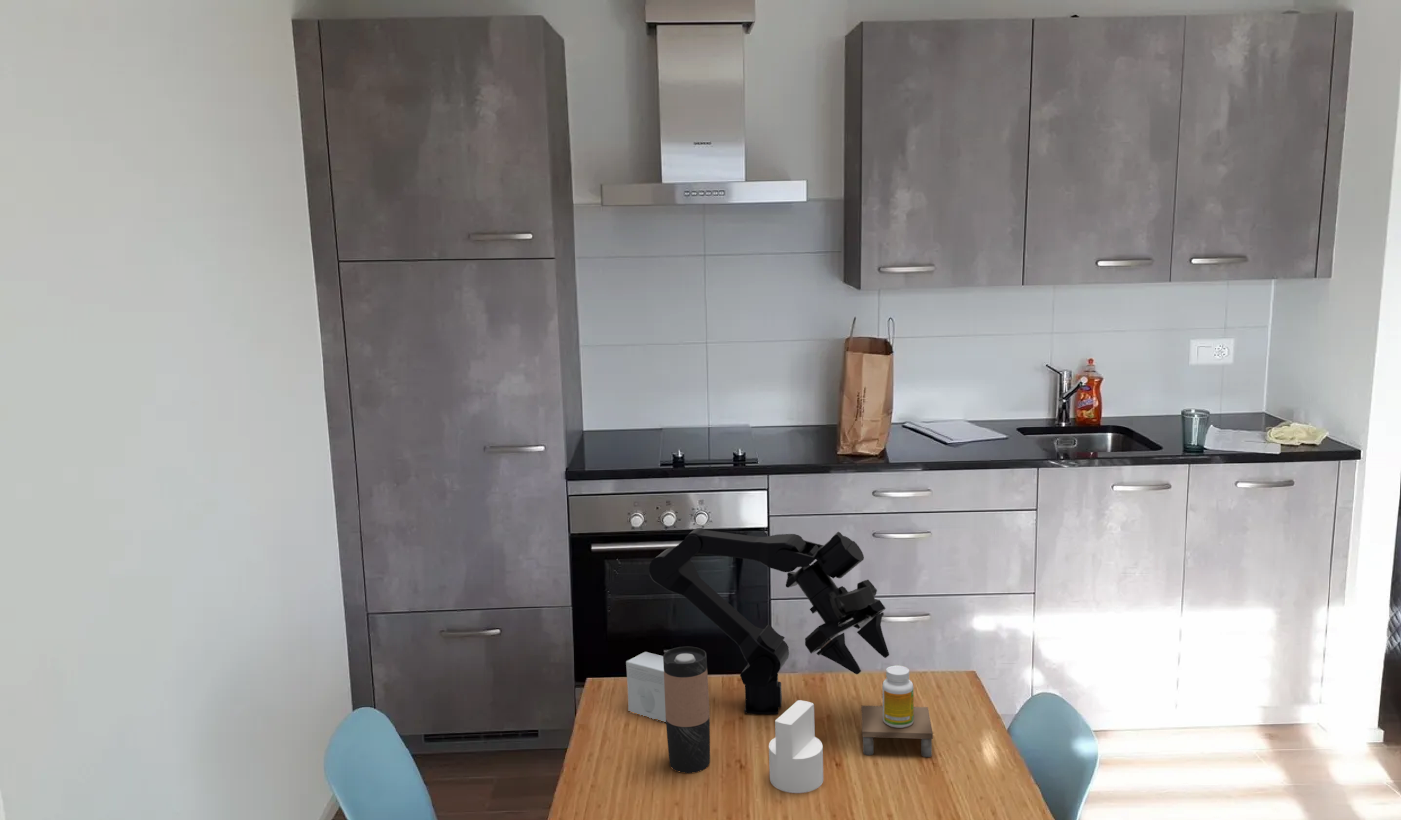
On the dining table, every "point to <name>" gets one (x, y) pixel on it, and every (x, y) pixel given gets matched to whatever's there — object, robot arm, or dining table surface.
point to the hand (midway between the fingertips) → (873, 664)
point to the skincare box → (646, 685)
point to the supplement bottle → (898, 698)
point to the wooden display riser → (896, 729)
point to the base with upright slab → (796, 751)
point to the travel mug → (687, 708)
